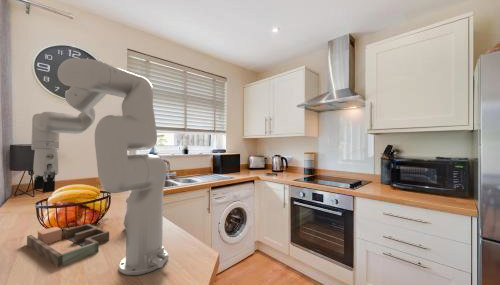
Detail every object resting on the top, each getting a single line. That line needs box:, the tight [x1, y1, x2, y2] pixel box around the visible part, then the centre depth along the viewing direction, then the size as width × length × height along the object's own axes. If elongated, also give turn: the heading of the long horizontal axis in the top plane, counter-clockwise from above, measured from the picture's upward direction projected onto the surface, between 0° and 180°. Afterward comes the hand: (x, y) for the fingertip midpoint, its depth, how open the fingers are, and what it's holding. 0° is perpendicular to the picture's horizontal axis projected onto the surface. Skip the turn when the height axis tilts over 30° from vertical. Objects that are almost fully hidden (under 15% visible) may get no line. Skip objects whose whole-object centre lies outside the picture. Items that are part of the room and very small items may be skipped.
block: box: [37, 226, 63, 245], centre depth 73 cm, size 5×5×4 cm
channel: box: [26, 223, 110, 268], centre depth 71 cm, size 27×16×3 cm, turn 60°
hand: (44, 190), depth 78 cm, fingers open, 9 cm apart
